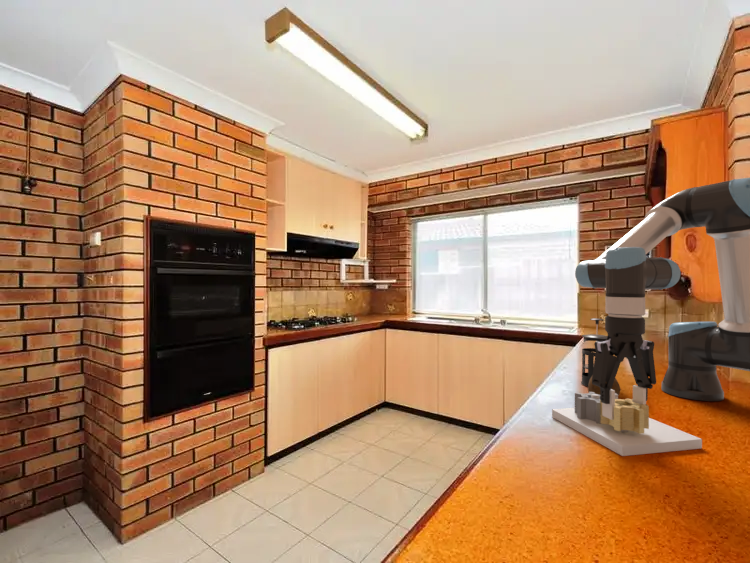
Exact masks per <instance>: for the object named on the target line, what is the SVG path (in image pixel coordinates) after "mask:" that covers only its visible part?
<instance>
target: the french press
mask: <svg viewBox="0 0 750 563" xmlns="http://www.w3.org/2000/svg"><path fill="white" fill-rule="evenodd" d="M589 320H590V321H595V325H596V328H595V330H596V332H595V333H594V334H592V333H591V334H589V333H588V334H582V335H581V337H582V338H583V342H584V343H585V342H589V341H590V342H591V341H592V342H596V341H598V342H603V341H606V338H607V336H608V335H604V334H599V333H598V330H599V329H598V328H599V327H598V325H599V323H600V321H604V322H605V319H604V318H598V317H597V318H595V317H594V318H590V319H589ZM595 353H596V350H595V347H592V348H591V347H590V348H588V347H585V348H582V349H581V354H582V359H581V362H582V363H581V365H582V366H581V367H582V368H581V381H580V383H581V385H582V386H584V387H587V388H588V384H589V380H590V378H591V377H592V375H593V369H594V361H595ZM586 356H587V363H586ZM586 370H587V372H586Z"/></svg>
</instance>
